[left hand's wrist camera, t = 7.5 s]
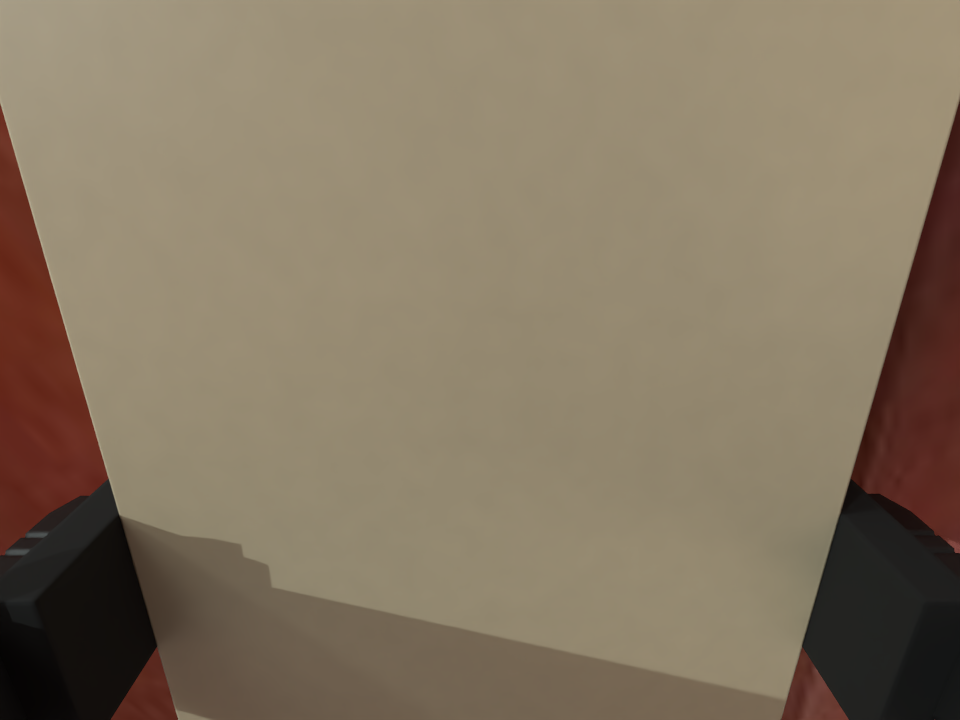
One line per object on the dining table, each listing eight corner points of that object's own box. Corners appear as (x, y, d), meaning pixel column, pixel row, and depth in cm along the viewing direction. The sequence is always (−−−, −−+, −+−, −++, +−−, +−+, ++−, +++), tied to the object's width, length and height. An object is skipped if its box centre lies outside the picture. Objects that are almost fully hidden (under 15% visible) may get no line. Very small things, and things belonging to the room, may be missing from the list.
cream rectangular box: (218, -226, 12) (-314, -975, 4) (740, -225, 12) (1274, -978, 4) (311, 476, 18) (180, 733, 10) (648, 476, 18) (778, 733, 10)
